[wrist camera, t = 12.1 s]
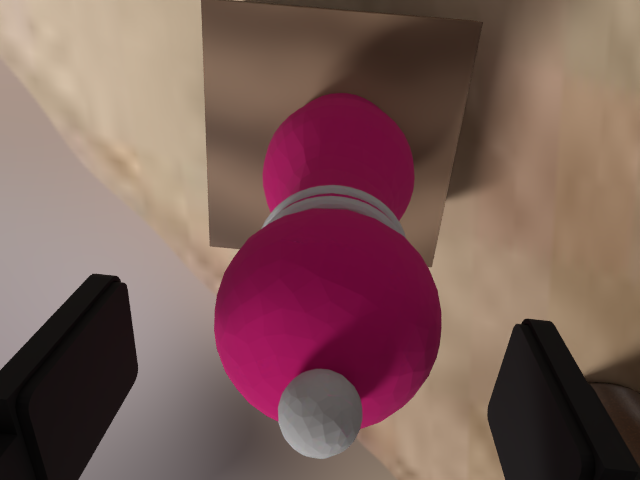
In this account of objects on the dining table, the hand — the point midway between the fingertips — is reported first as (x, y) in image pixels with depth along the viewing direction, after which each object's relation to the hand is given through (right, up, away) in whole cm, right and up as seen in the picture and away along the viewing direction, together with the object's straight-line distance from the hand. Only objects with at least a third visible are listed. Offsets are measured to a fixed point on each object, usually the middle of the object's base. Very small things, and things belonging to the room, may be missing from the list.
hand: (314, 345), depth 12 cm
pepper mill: (+1, +8, +16) cm, 17 cm away
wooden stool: (+1, +10, +21) cm, 23 cm away
